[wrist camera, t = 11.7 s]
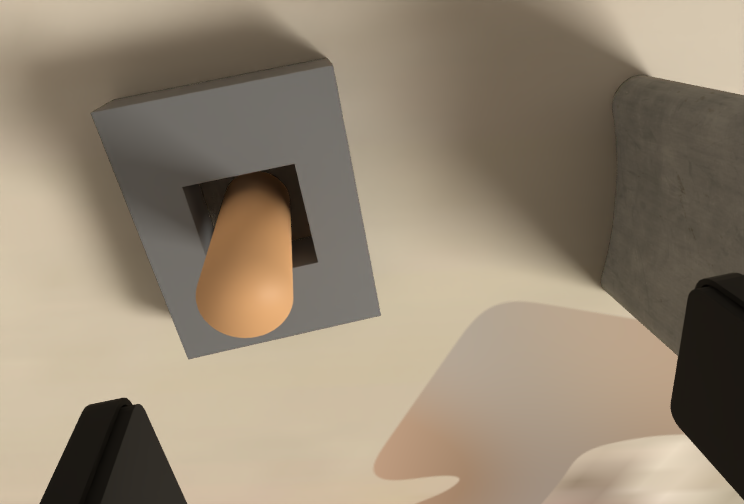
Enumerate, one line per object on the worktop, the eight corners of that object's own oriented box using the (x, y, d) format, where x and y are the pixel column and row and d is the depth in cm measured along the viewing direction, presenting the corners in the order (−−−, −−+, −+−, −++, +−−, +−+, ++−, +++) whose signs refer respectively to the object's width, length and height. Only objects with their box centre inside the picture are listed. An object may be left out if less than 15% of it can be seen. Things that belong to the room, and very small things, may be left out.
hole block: (114, 99, 30) (90, 112, 26) (327, 57, 30) (333, 65, 27) (197, 324, 36) (188, 359, 33) (371, 285, 37) (380, 315, 33)
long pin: (216, 178, 32) (182, 266, 22) (281, 165, 33) (280, 245, 22) (234, 238, 34) (211, 346, 23) (296, 224, 34) (302, 326, 24)
